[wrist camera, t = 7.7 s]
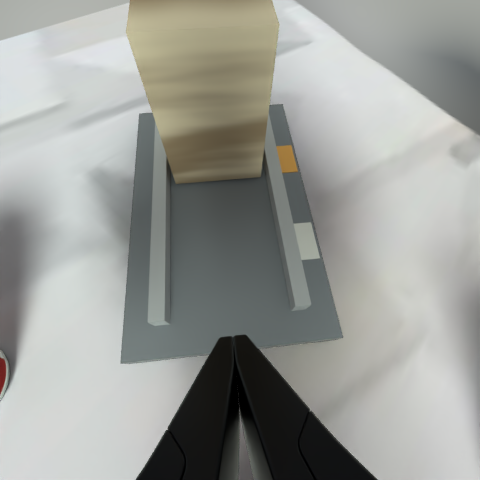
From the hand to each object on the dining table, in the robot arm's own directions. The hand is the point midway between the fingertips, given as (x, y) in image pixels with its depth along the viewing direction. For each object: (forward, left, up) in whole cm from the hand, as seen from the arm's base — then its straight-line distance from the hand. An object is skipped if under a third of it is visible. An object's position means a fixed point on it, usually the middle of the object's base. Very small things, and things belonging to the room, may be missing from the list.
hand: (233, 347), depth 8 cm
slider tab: (+11, -11, -9) cm, 18 cm away
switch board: (+8, -8, -11) cm, 16 cm away
